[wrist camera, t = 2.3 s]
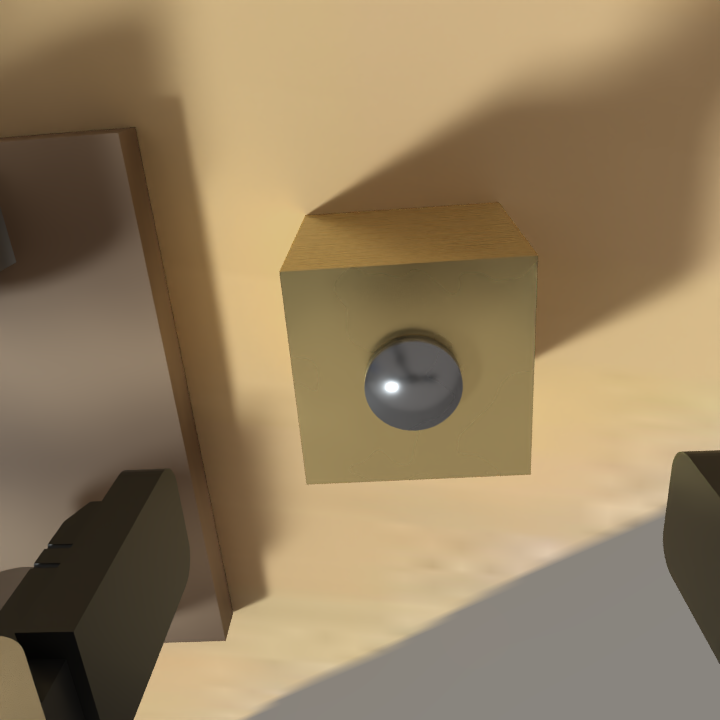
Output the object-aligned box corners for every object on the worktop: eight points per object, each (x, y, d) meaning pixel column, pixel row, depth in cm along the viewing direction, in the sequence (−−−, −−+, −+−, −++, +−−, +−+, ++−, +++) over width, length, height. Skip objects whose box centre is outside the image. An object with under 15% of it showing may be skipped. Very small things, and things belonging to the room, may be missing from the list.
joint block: (305, 215, 18) (276, 278, 13) (498, 201, 18) (542, 261, 13) (324, 385, 20) (304, 495, 15) (496, 375, 20) (534, 484, 15)
